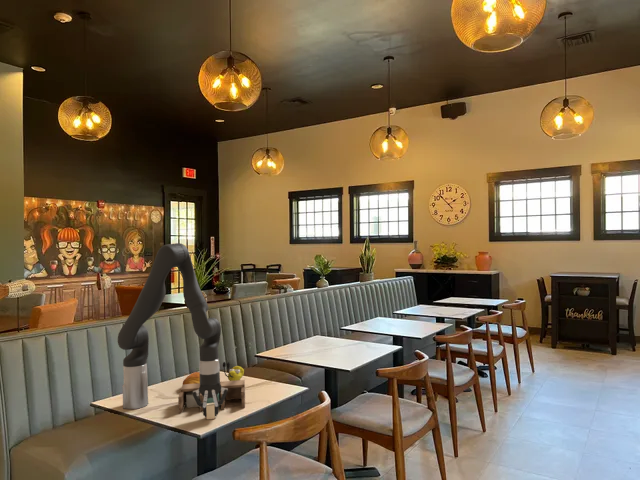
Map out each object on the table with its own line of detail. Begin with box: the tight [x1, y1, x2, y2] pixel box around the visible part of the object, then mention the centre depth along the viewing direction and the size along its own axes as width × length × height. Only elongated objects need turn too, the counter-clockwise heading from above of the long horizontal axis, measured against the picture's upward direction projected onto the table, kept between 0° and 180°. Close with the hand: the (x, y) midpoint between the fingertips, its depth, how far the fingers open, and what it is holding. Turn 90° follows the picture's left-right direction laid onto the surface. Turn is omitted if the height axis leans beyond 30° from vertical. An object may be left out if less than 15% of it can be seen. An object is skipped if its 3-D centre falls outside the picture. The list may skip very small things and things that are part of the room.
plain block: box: [186, 391, 200, 408], centre depth 194 cm, size 5×5×5 cm
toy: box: [222, 361, 245, 381], centre depth 211 cm, size 6×14×15 cm
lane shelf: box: [177, 379, 246, 414], centre depth 193 cm, size 26×13×8 cm, turn 99°
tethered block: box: [206, 392, 221, 420], centre depth 186 cm, size 5×18×5 cm, turn 9°
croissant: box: [182, 371, 200, 385], centre depth 217 cm, size 14×16×8 cm
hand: (211, 415), depth 179 cm, fingers closed on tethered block, 3 cm apart
